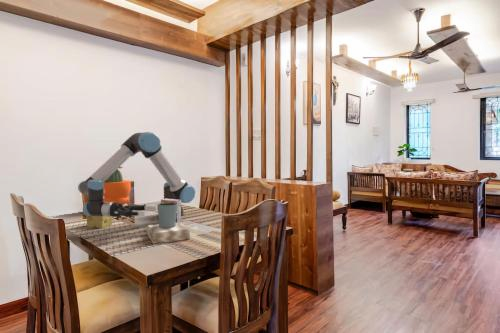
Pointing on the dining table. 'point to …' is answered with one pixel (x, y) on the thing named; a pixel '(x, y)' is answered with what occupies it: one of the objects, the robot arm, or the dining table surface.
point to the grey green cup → (167, 214)
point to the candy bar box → (178, 214)
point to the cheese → (99, 221)
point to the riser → (167, 233)
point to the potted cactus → (117, 189)
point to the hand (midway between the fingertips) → (150, 211)
